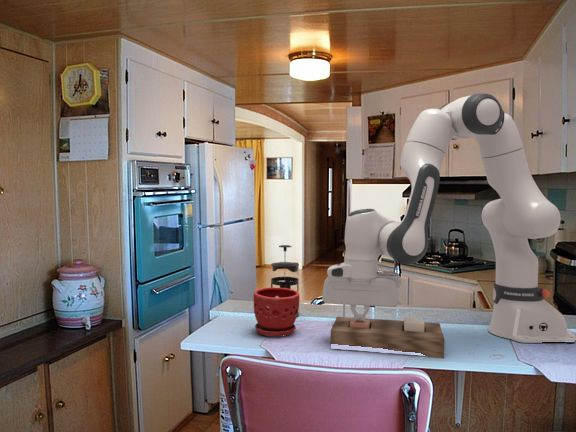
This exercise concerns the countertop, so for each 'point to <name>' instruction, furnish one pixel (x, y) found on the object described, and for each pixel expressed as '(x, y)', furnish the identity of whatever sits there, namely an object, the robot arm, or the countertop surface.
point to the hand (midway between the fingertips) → (359, 321)
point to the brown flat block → (390, 336)
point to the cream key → (413, 324)
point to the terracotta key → (360, 324)
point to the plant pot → (275, 311)
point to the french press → (287, 280)
